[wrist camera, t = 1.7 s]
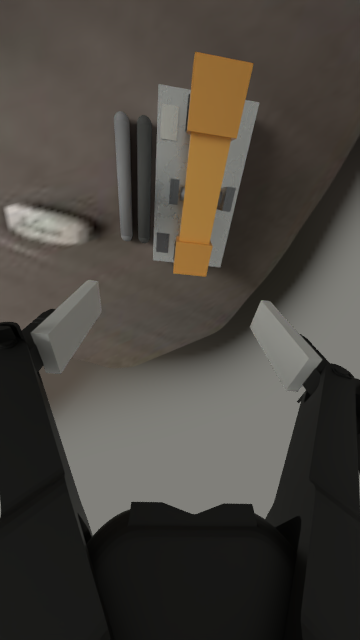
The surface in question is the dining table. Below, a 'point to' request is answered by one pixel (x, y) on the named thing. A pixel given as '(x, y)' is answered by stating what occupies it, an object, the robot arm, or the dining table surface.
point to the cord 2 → (144, 176)
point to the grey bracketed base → (174, 169)
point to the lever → (208, 153)
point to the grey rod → (124, 173)
